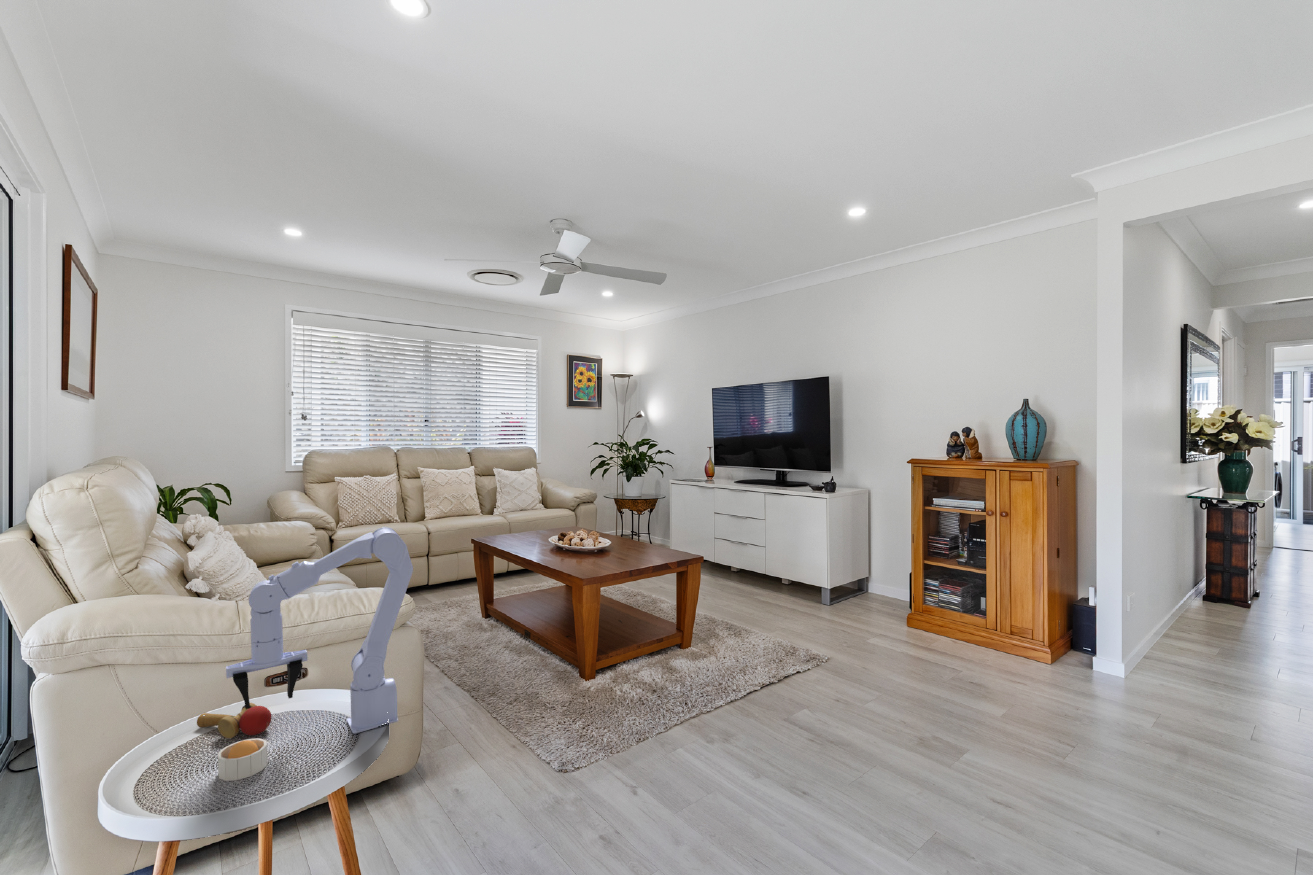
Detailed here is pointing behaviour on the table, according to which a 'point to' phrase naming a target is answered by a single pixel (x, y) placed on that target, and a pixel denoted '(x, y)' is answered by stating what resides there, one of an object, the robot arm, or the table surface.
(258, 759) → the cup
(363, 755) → the table surface
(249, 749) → the ball
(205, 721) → the kendama
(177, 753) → the table surface
